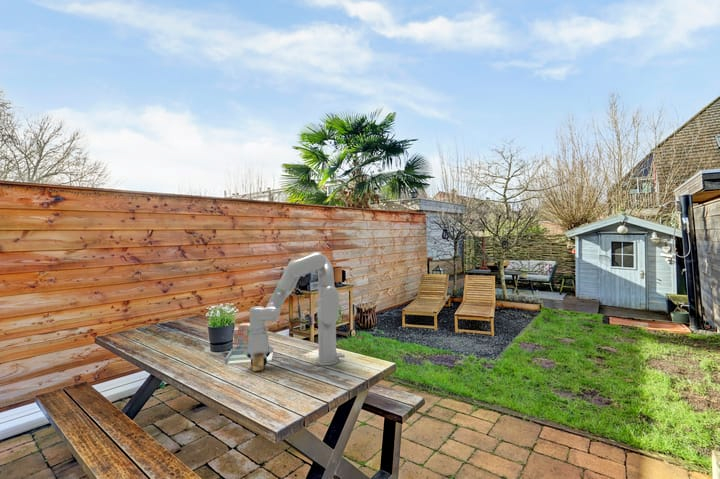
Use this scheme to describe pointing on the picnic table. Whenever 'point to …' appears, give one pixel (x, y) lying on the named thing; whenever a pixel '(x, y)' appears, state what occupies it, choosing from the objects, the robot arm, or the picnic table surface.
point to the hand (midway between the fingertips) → (259, 365)
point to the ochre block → (258, 361)
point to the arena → (241, 357)
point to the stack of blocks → (242, 333)
